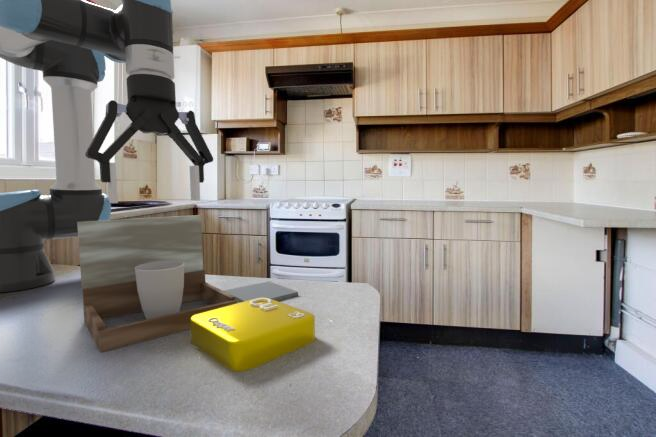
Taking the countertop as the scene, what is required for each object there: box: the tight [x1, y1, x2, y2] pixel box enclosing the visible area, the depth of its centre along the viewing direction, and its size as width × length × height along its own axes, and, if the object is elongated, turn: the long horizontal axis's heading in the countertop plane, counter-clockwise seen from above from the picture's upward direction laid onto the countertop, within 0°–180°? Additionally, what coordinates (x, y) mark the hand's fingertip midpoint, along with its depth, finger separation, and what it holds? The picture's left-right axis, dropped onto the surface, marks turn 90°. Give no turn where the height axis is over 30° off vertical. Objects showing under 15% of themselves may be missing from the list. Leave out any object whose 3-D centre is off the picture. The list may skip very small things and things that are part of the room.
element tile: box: [190, 297, 316, 372], centre depth 57 cm, size 15×15×5 cm
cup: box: [135, 261, 184, 320], centre depth 65 cm, size 8×8×10 cm
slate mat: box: [223, 281, 299, 303], centre depth 80 cm, size 12×12×1 cm
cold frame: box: [77, 214, 239, 353], centre depth 65 cm, size 17×22×18 cm
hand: (157, 201), depth 64 cm, fingers open, 13 cm apart
